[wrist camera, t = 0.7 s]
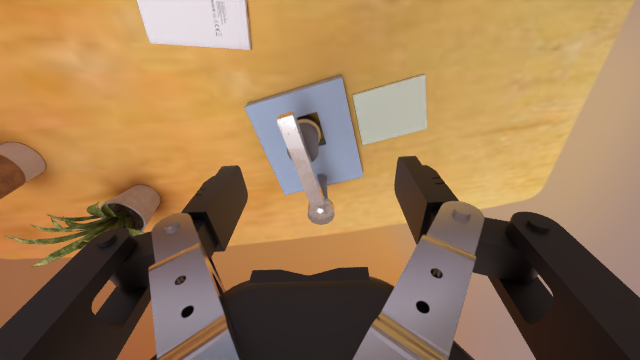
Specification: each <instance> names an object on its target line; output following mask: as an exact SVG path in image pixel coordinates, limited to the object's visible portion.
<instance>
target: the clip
mask: <svg viewBox="0 0 640 360" xmlns="http://www.w3.org/2000/svg"><path fill="white" fill-rule="evenodd" d="M277 123H278V125H279V128H280V130H281V133H282V135H283V138H284V140H285V143H286V145H287V148H288V150H289V153H290V155H291V158H292V161H293V163H294V166H295V168H296V171H297V173H298V176H299V178H300V181H301V183H302V186H303V188H304V191H305V193H306V196H307V198H308V201H309V205H308V218H309V219H310V221H312V222H313V223H315V224H320V225H322V224H327V223H329V222H330V221H332V219H333V218H334V206H333V203H332V202H331V201H330V200H329V199H327V198H324V196H323V193H322V190H321V187H320V184H319V181H318V178H317V175H316V172H315V170H314V167H313V164H312V161H311V158H310V155H309V152H308V149H307V147H306V144H305V141H304V138H303V135H302V132H301V129H300V126H299V123H298V121H297V118H296V115H295V112H294V111H291V112H288V113H284V114H281V115H278V118H277Z"/></svg>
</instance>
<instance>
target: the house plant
mask: <svg viewBox="0 0 640 360" xmlns="http://www.w3.org/2000/svg"><path fill="white" fill-rule="evenodd" d="M160 201H161V198H160V196H159V194H158V193H157V192H156V191H155V190H154V189H152V188H151V187H148V186H146V185H136V186H133V187H132V188H130V189H128V190H126V191H125V192H123V193H121V194H119V195H118V196H116V197H114V198H112V199H111V200H109V201H106V202H105V203H104V204H102V205H101V206H100V207H99V208H98V203H99V202H98V203H96V204H94V205H92V206H89V207H88V208H87V212H88V213H90V214H91V215H94V216H90V217H79V218H64V216H63V218H61V217H55V216H52V215H48V216H50V217H52V218H55V219H57V220H61V221H65V222H66V224H67V225H68V226H70V227H66V228H63V227H61V226H60V225H59V224H58V223H57V222H56V221H55V220H53V219H52V218H51V220H52V222H53V224H54V226H55V227H56V228H41V227H38V226H34V225H31V226H33V227H35V228H37V229H40V230H43V231H49V232H59V231H65V232H72V231H71V230H72V229H84V230H86V231H84V230H78V231H83V232H80V233H77V234H73V235H69V236H64V237H59V238H52V239H33V240H28V239H20V238H16V237H9V236H6V237H8V238H11V239H14V240H16V241H19V242H23V243H28V244H53V243H59V242H64V241H67V240H70V239H73V238H77V237H80V236H83V235H86V234H88V235H86V236H84V237H83V238H81V239H79V240H77V241H75V242H73V243H71V244H69V245H67V246H65V247H63V248H61V249H59V250H57V251H56V252H54V253H52V254H50V255H49V256H47V257H46V258H45V259H43V260H42V261H40V262H38V263H36V264H35V265H33V267H35V266H40V265H44V264H47V263H49V262H52V261H54V260H56V259H58V258H60V257H62V256H64V255H66V254H69V253H71V252H73V251H75V250H77V249H81V248H84V247H85V246H86V245H87V244H88V243H89V242H90V241H91V240H92V239H94V238H95V237H97V236H98V235H100V234H102V233H104V232H106V231H108V230H111V229H115V228H127V229H128V230H129V231H130V232H131V234H132V235H133V236H136V235H140V234H143V233H146V232H141V231H143V230H144V229H145V227H146V225H147V224H148V222H149V220H150V219H151V217H152V215H153V214H154V212H155V210H156V209H157V207H158V205H159V204H160ZM95 218H101V219H102V220H98V221H94V222H90V223H87V224H78V223H74V222H70V221H84V220H89V219H95ZM89 229H90V230H89Z"/></svg>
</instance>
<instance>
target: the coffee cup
mask: <svg viewBox="0 0 640 360" xmlns="http://www.w3.org/2000/svg"><path fill="white" fill-rule="evenodd" d="M45 169H46V164H45V161H44V160H43V158H42V157H41V156H40V155H39V154H38V153H37V152H36V151H34V150H33V149H32V148H30V147H28V146H26V145H23V144H20V143H16V142H9V143H5V144H1V145H0V199H2V198H3V197H5V196H6V195H8V194H9V193H11V192H12V191H14V190H15V189H17V188H19V187H20V186H22V185H23V184H24V183H26V182H27V181H29V180H31V179H32V178H34V177H36V176H37V175H39V174H40V173H42V172H43V171H45Z"/></svg>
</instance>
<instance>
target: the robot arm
mask: <svg viewBox="0 0 640 360" xmlns="http://www.w3.org/2000/svg"><path fill="white" fill-rule="evenodd" d="M394 186H395V194H396V197H397V199H398V202H399V204H400V206H401V209H402V211H403V213H404V216H405V218H406V221H407V223H408V225H409V228H410V230H411V232H412V235H413V237H414V240H415V242H416V244H417V246H416V248H415V250H414V252H413V254H412V256H411V258H410V260H409V262H408V263H407V265H406V267H405V269H404V271H403V272H402V274H401V276H400V278H399V280H398V282H397V284H396V285H395V287H394V286H392V285H390V284H389V283H387V282H384V281H383V280H380V279H377V278H374V277H370V276H369V273H368V267H354V268H337V269H333V270H329V271H325V272H322V273H318V274H314V275H309V276H307V275H302V274H298V273H293V272H289V271H284V270H254V271H252V274H251V278H250V280H248V281H245V282H243V283H240V284H238V285H236V286H234V287H232V288H231V289H229V290H227V291H226V290H225V288H224V285H223V283H222V280H221V278H220V275H219V273H218V270H217V268H216V265H215V263H214V261H213V259H212V255H213V253H214V252H216V251H217V252H220V251H225V249H226V247H227V245H228V243H229V240H230V238H231V236H232V234H233V231H234V229H235V227H236V225H237V222H238V220H239V218H240V216H241V214H242V211H243V209H244V207H245V205H246V202H247V198H248V193H247V188H246V185H245V182H244V179H243V175H242V172H241V169H240V167H239V166H223V167H221V169H220V170H219V171H218V173H217V174H216V175H215V176H213V177H211V178H210V179H208V180H207V181H206V182H204V184H203V185H202V186H201V188H200V190H198V191H197V193H196V194H195V196H194V197H193V198H192V199H191V200H190V202H189V203H188V204H187V206H186V207H185V208H184V209H183V211H182V212H181V213H177V214H173V215H170V216H168V217H166V218H164V219H162V220H161V221H159V222H158V223H157V224H156V225H155V226H154V227H153V229H152V231H151V232H147V233H143V234H140V235H136V236H133V235H132V234H131V232H130V231H129V230H128V229H127V228H115V229H111V230H108V231H106V232H104V233H102V234H100V235H98V236H97V237H95V238H94V239H92V240H91V241H90V242H89V243H88V244H87V245H86V246H85V247H84V248H82V249H81V250H80V251H79V252H78V253H77V254H76V255H75V256H74V257H73V258H72V259H71V260H70V261H69V262H68V263H67V264H66V265H65V266H64V267H63V268H62V269H61V270H60V271H59V272H58V273H57V274H56V275H55V276H54V277H53V278H52V279H51V280H50V281H49V282H48V283H47V284H46V285H44V287H42V288H41V289H40V290H39V291H38V292H37V293H36V294H35V295H34V296H33V297H32V298H31V299H30V300H29V301H28V302H27V303H26V304H25V305H24V306H23V307H22V308H21V309H20V310H19V311H18V312H17V313H16V314H15V315H14V316H13V317H12V318H11V319H10V320H9V321H8V322H6V324H4V325H3V326H2V327H1V328H0V360H116V359H117V357H118V355H119V353H120V352H121V350H122V348H123V346H124V345H125V343H126V341H127V340H128V338H129V336H130V335H131V333H132V331H133V330H134V328H135V326H136V324H137V323H138V321H139V319H140V317H141V316H142V314H143V312H144V311H145V309H146V307H147V305H148V304H149V302H150V300H151V301H152V312H153V322H154V332H155V342H156V353H157V354H156V355H155V356H154V357H152V358H151V359H150V360H474V359H473V358H472V357H471V356H470V355H469V354H468V353H467V352H466V351H464V349H462V348H461V347H460V346H459V345H458V344H457V343H456V342H455V341H454V336H455V333H456V329H457V326H458V322H459V318H460V315H461V310H462V307H463V304H464V300H465V296H466V293H467V289H468V286H469V282H470V278H471V275H472V272H474V273H478V274H482V275H486V276H488V278H489V279H490V281H491V283H492V284H493V286H494V288H495V290H496V291H497V293H498V295H499V296H500V298H501V300H502V302H503V303H504V305H505V307H506V308H507V310H508V312H509V314H510V315H511V317H512V319H513V320H514V322H515V324H516V325H517V327H518V329H519V331H520V333H521V334H522V336H523V338H524V339H525V341H526V342H527V344H528V346H529V348H530V350H531V351H532V353H533V355H534V357H535V358H536V360H640V298H639V297H638V296H637V295H636V294H635V293H634V292H633V291H632V290H631V289H630V288H628V287H627V286H626V285H625V284H624V283H623V282H622V281H621V280H620V279H619V278H617V277H616V276H615V275H614V274H613V273H612V272H611V271H610V270H609V269H608V268H606V267H605V266H604V265H603V264H602V263H601V262H600V261H599V260H598V259H597V258H596V257H594V256H593V255H592V254H591V253H590V252H589V251H588V250H587V249H586V248H585V247H584V246H582V245H581V244H580V243H579V242H578V241H577V240H576V239H575V238H574V237H573V236H572V235H570V234H569V233H568V232H567V231H566V230H565V229H564V228H563V227H562V226H560V225H559V224H558V223H557V222H555V221H553V220H552V219H550V218H548V217H545V216H543V215H540V214H537V213H532V212H517V213H515V214H514V215H513V216H512V217H511V220H510V221H509V222H508V221H502V220H497V219H491V218H485V217H484V216H483V214H482V212H481V211H480V210H479V209H477V208H476V207H474V206H473V205H470V204H468V203H465V202H460V201H459V200H458V199H457V198H456V196H455V195H454V194H453V193H452V191H451V190H450V189H449V187H448V186H447V185H446V184H445V182H444V181H443V180H442V179H441V177H440V176H439V174H438V173H437V172H436V171H435V170H434V169H432V168H430V167H429V166H427V165H423V166H422V164H421V163H420V161H419V160H418V159H417V157H416V156H405V157H399V158H398V161H397V169H396V176H395V185H394ZM538 274H539V275H540V276H541V277H542V279H543V280H544V281H545V283H546V284H547V285H548V286H549V288H550V289H551V291H552V293H553V296H552V295H551V294H550V292H549V291H548V290H547V288H546V287H545V286H544V285H543V283H542V282H541V281H540V280H539V278H538V277H537V275H538ZM109 279H110V280H111V281H112V282H113V283H114V284H115V285H116V288H115V290H114V291H113V292H112V293H111V295H110V296H109V297H108V299H107V300H106V301H105V303H104V304H103V305H102V307H101V308H100V309H99V311H98V312H97V313H96V315H95V314H94V313H93V312H92V309H91V306H92V302H93V300H94V298H95V296H96V295H97V294H98V293H99V291H100V290H101V289H102V288H103V286H104V285H105V284H106V283H107V281H108V280H109Z"/></svg>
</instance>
